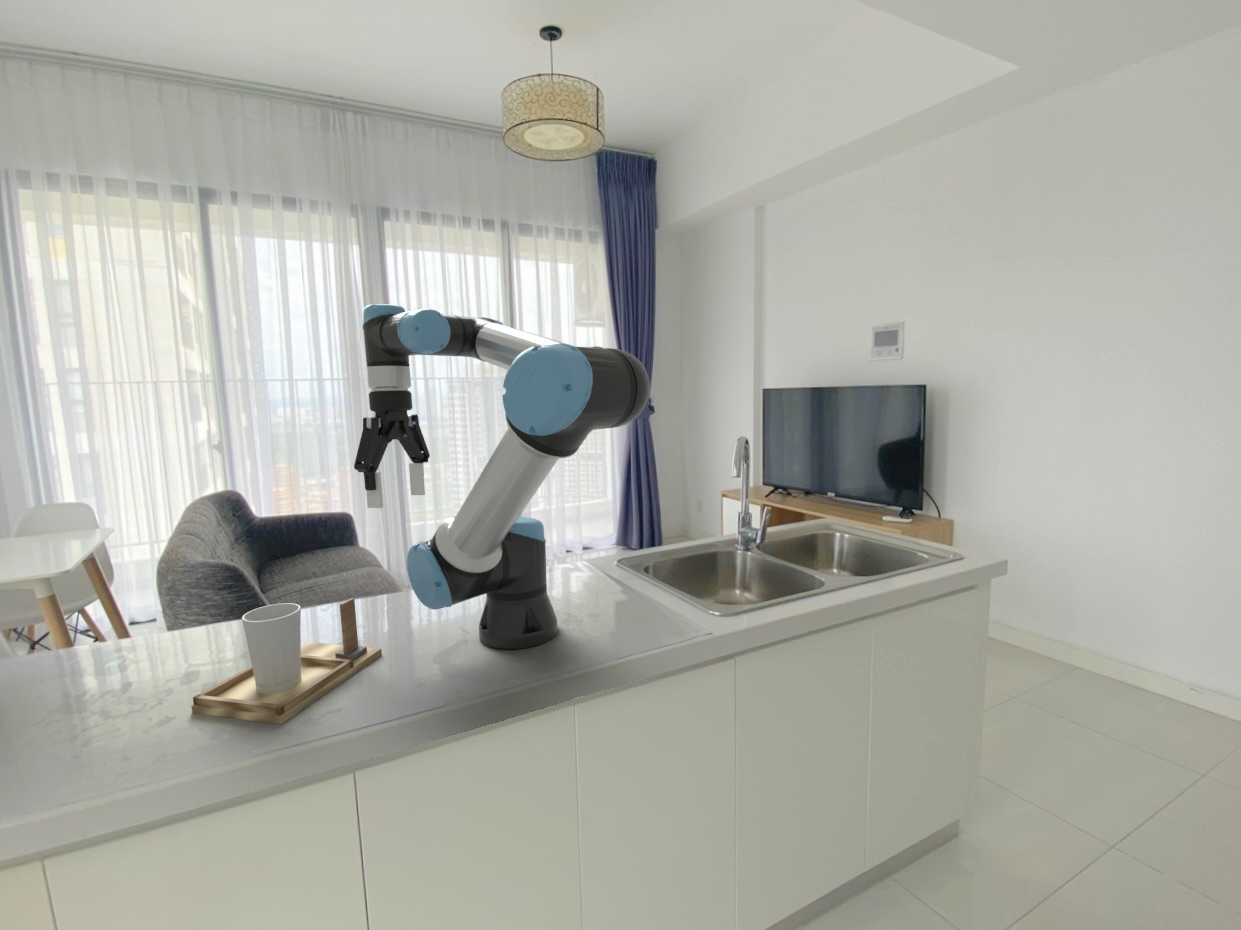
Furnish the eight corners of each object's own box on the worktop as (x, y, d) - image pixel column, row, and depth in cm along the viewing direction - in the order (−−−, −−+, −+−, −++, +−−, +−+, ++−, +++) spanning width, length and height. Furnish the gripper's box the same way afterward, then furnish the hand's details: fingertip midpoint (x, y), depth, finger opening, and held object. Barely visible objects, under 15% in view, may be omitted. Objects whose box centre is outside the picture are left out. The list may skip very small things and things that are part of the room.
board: (381, 654, 106) (377, 595, 104) (281, 724, 84) (273, 650, 82) (307, 648, 110) (302, 590, 108) (192, 712, 87) (183, 641, 86)
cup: (281, 698, 89) (274, 622, 87) (237, 694, 90) (229, 620, 89) (318, 673, 96) (311, 604, 95) (276, 670, 98) (269, 602, 96)
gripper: (410, 390, 122) (417, 490, 125) (325, 390, 98) (335, 513, 101) (442, 389, 121) (449, 490, 123) (363, 388, 97) (373, 514, 99)
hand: (398, 501), depth 112 cm, fingers open, 13 cm apart
